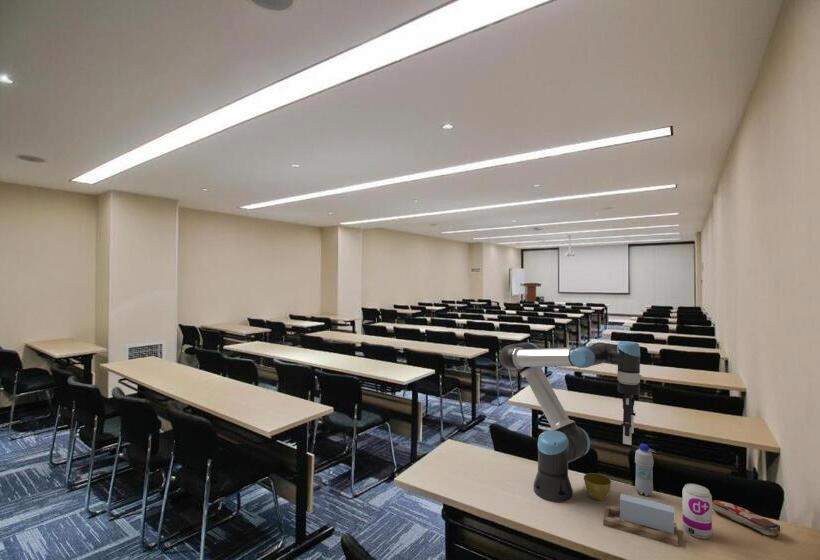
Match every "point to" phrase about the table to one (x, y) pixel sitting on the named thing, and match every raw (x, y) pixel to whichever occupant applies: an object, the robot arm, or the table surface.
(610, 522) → the board
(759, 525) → the pencil case
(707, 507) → the supplement can
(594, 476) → the yellow bowl
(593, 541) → the table surface
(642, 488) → the bottle
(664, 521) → the light blue rectangular block
